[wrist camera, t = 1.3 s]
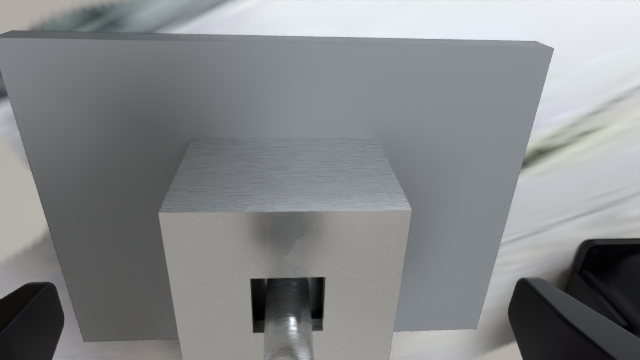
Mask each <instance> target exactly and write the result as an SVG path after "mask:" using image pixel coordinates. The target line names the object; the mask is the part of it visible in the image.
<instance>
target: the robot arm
mask: <svg viewBox="0 0 640 360" xmlns="http://www.w3.org/2000/svg"><path fill="white" fill-rule="evenodd" d="M508 317H509V321H510V324H511V327H512V330H513V333H514V335H515V338H516V341H517V344H518V347H519V349H520V353H521V356H522V358H523V360H640V240H593V241H589V242H587V243H586V244H585V245H584V246H583V248H582V250H581V253H580V255H579V258H578V261H577V263H576V266H575V268H574V271H573V274H572V276H571V279H570V281H569V284H568V286H567V289H566V292H563V291H561V290H560V289H558V288H556V287H555V286H553V285H552V284H550V283H548V282H547V281H545V280H543V279H541V278H521V279H519V280H518V281H517V283H516V286H515V289H514V292H513V295H512V298H511V301H510V304H509V308H508ZM63 326H64V312H63V309H62V306H61V302H60V299H59V296H58V292H57V289H56V287H55V285H54V284H53V283H50V282H31V283H27V284H25V285H23V286H22V287H20V288H18V289H17V290H15V291H13V292H12V293H10V294H8V295H7V296H5V297H4V298H2V299H0V360H52V358H53V355H54V352H55V349H56V347H57V344H58V341H59V338H60V335H61V332H62V330H63Z"/></svg>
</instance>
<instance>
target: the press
mask: <svg viewBox="0 0 640 360" xmlns="http://www.w3.org/2000/svg"><path fill="white" fill-rule="evenodd" d="M411 213H412V209H411V207H410V205H409V203H408V201H407V199H406V197H405V195H404V193H403V190H402V188H401V186H400V184H399V182H398V180H397V178H396V176H395V174H394V172H393V170H392V167H391V165H390V163H389V161H388V159H387V157H386V155H385V153H384V151H383V149H382V147H381V144H380V142H379V140H378V138H223V137H193V138H192V140H191V143H190V145H189V147H188V149H187V151H186V154H185V156H184V158H183V160H182V162H181V164H180V167H179V169H178V171H177V173H176V175H175V178H174V180H173V182H172V184H171V186H170V188H169V191H168V193H167V195H166V197H165V199H164V202H163V204H162V206H161V208H160V210H159V212H158V214H159V220H160V226H161V232H162V239H163V245H164V251H165V257H166V263H167V269H168V275H169V281H170V287H171V293H172V300H173V306H174V312H175V318H176V324H177V330H178V336H179V342H180V348H181V354H182V360H263V351H264V330H265V321H254V314H253V294H252V279H256V278H300V277H324V279H323V300H322V319H311V320H312V334H313V347H314V360H389V355H390V349H391V342H392V336H393V329H394V323H395V316H396V310H397V303H398V297H399V290H400V284H401V277H402V271H403V265H404V258H405V252H406V245H407V239H408V232H409V226H410V219H411Z"/></svg>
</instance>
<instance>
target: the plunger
mask: <svg viewBox="0 0 640 360" xmlns="http://www.w3.org/2000/svg"><path fill="white" fill-rule="evenodd" d="M323 279H324V277H300V278H256V279H252V294H253V314H254V321H265V330H264V351H263V360H314V347H313V334H312V320H311V319H322V300H323Z"/></svg>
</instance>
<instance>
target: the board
mask: <svg viewBox="0 0 640 360" xmlns="http://www.w3.org/2000/svg"><path fill="white" fill-rule="evenodd" d="M553 50H554V48H552V47H549V46H546V45H544V44H541V43H539V42H536V41H500V40H452V39H403V38H355V37H306V36H258V35H209V34H160V33H112V32H63V31H15V30H12V31H9V32H6V33H3V34H0V70H1V73H2V77H3V80H4V83H5V87H6V90H7V93H8V96H9V100H10V103H11V106H12V109H13V113H14V116H15V119H16V122H17V126H18V129H19V132H20V135H21V139H22V142H23V145H24V148H25V152H26V155H27V158H28V161H29V165H30V168H31V171H32V174H33V178H34V181H35V184H36V187H37V191H38V194H39V197H40V201H41V204H42V207H43V210H44V213H45V217H46V220H47V223H48V227H49V230H50V233H51V236H52V240H53V243H54V246H55V249H56V253H57V256H58V259H59V262H60V266H61V269H62V272H63V275H64V279H65V282H66V285H67V288H68V292H69V295H70V298H71V301H72V305H73V308H74V311H75V315H76V318H77V321H78V324H79V328H80V331H81V334H82V337H83V341H84V342H96V341H126V340H156V339H179V336H178V330H177V324H176V318H175V312H174V306H173V300H172V293H171V287H170V281H169V275H168V269H167V263H166V257H165V251H164V245H163V239H162V232H161V226H160V220H159V214H158V212H159V210H160V208H161V206H162V204H163V202H164V199H165V197H166V195H167V193H168V191H169V188H170V186H171V184H172V182H173V180H174V178H175V175H176V173H177V171H178V169H179V167H180V164H181V162H182V160H183V158H184V156H185V154H186V151H187V149H188V147H189V145H190V143H191V140H192V138H193V137H223V138H378V140H379V142H380V144H381V147H382V149H383V151H384V153H385V155H386V157H387V159H388V161H389V163H390V165H391V167H392V170H393V172H394V174H395V176H396V178H397V180H398V182H399V184H400V186H401V188H402V190H403V193H404V195H405V197H406V199H407V201H408V203H409V205H410V207H411V209H412V213H411V219H410V226H409V232H408V239H407V245H406V252H405V258H404V265H403V271H402V277H401V284H400V290H399V297H398V303H397V310H396V316H395V323H394V329H393V332H398V331H428V330H458V329H477V325H478V322H479V318H480V314H481V311H482V307H483V304H484V300H485V296H486V293H487V289H488V285H489V282H490V278H491V275H492V271H493V267H494V264H495V260H496V256H497V253H498V249H499V246H500V242H501V238H502V235H503V231H504V227H505V224H506V220H507V217H508V213H509V209H510V206H511V202H512V198H513V195H514V191H515V188H516V184H517V180H518V177H519V173H520V169H521V166H522V162H523V159H524V155H525V151H526V148H527V144H528V141H529V137H530V133H531V130H532V126H533V122H534V119H535V115H536V112H537V108H538V104H539V101H540V97H541V93H542V90H543V86H544V83H545V79H546V75H547V72H548V68H549V64H550V61H551V57H552V54H553Z"/></svg>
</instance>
